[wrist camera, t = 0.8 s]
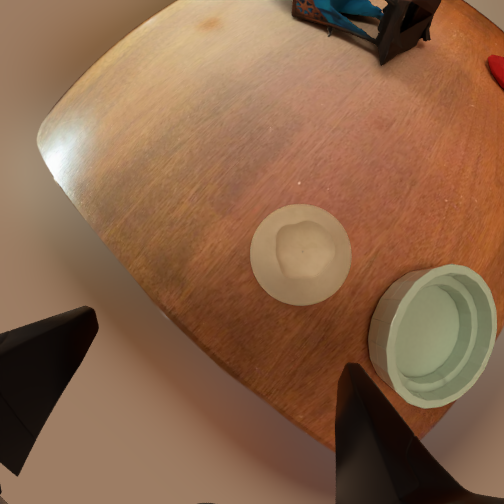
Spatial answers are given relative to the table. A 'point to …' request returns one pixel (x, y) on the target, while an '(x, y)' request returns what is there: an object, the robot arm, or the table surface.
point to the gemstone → (497, 68)
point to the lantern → (391, 20)
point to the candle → (300, 254)
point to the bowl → (433, 334)
